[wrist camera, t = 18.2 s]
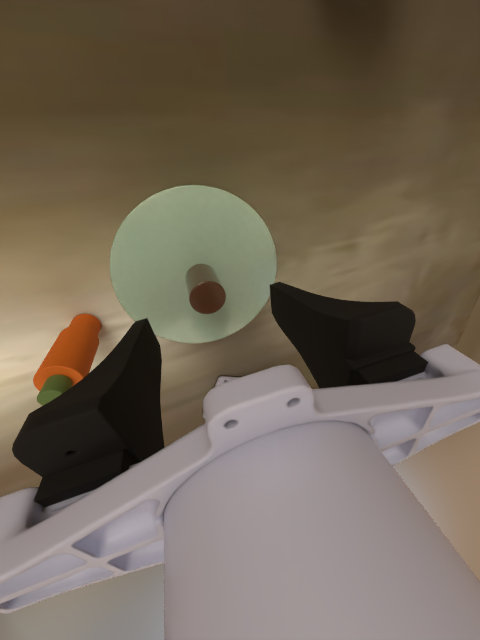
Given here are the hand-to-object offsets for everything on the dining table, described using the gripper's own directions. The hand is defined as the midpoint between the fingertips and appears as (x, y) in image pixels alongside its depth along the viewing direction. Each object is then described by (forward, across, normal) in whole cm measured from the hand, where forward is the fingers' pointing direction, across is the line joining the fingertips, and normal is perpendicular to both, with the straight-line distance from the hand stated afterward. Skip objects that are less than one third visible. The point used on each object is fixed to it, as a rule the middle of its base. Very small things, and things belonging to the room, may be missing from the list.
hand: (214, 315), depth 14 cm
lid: (+6, 0, 0) cm, 6 cm away
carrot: (+10, +12, +4) cm, 16 cm away
